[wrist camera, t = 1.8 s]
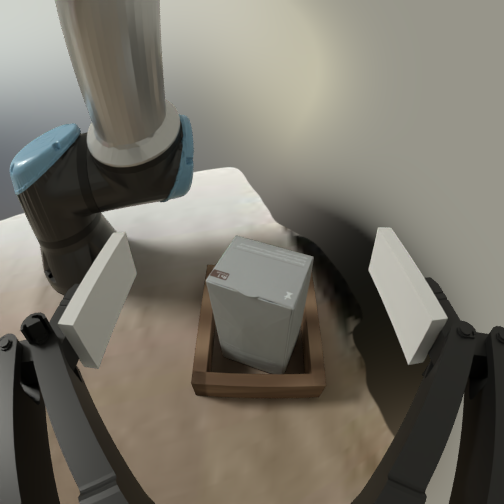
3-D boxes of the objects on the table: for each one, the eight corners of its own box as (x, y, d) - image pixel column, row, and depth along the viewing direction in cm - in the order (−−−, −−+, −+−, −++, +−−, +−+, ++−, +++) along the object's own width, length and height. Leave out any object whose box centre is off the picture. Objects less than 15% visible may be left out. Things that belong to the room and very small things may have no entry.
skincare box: (298, 338, 39) (321, 251, 28) (279, 384, 34) (300, 310, 23) (239, 317, 41) (238, 227, 30) (216, 360, 37) (203, 277, 26)
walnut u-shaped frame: (318, 397, 33) (326, 385, 30) (196, 395, 33) (191, 383, 30) (306, 285, 46) (311, 267, 43) (209, 283, 46) (207, 264, 43)
